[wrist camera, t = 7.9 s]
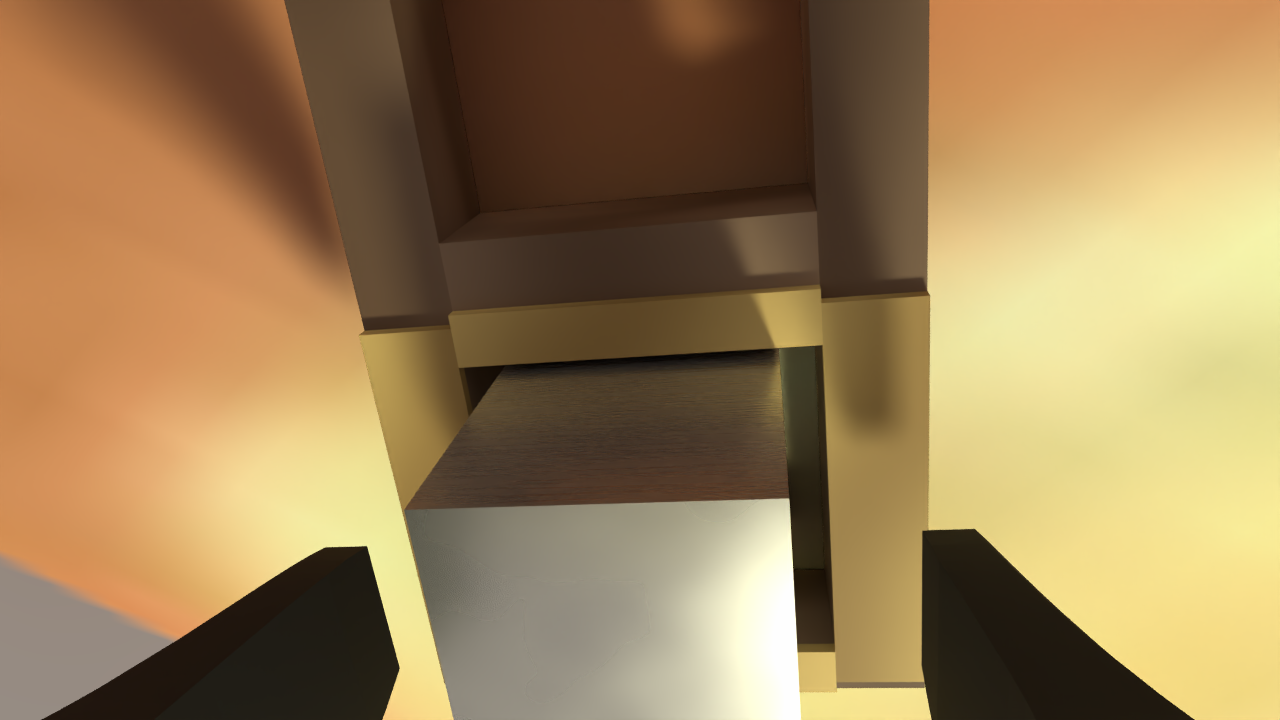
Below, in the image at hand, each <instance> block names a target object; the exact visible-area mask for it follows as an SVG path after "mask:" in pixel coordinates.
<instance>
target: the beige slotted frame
mask: <svg viewBox="0 0 1280 720" xmlns="http://www.w3.org/2000/svg"><path fill="white" fill-rule="evenodd" d="M284 1H285V5H286V9H287V13H288V17H289V21H290V26H291V30H292V34H293V38H294V42H295V46H296V50H297V54H298V59H299V63H300V67H301V71H302V75H303V79H304V83H305V87H306V91H307V96H308V100H309V104H310V108H311V112H312V116H313V120H314V124H315V128H316V133H317V137H318V141H319V145H320V149H321V153H322V157H323V161H324V165H325V170H326V174H327V178H328V182H329V186H330V190H331V194H332V198H333V203H334V207H335V211H336V215H337V219H338V223H339V227H340V231H341V235H342V240H343V244H344V248H345V252H346V256H347V260H348V264H349V268H350V272H351V277H352V281H353V285H354V289H355V293H356V297H357V301H358V305H359V309H360V314H361V318H362V322H363V326H364V330H365V331H364V332H363V333H361V334H360V335H359V338H360V342H361V346H362V350H363V354H364V358H365V362H366V366H367V370H368V374H369V378H370V382H371V386H372V390H373V394H374V398H375V403H376V407H377V411H378V415H379V419H380V423H381V427H382V431H383V435H384V439H385V443H386V447H387V451H388V455H389V459H390V464H391V468H392V472H393V476H394V480H395V484H396V488H397V492H398V496H399V500H400V504H401V508H402V512H403V516H404V520H405V524H406V529H407V533H408V537H409V541H410V545H411V549H412V553H413V557H414V561H415V565H416V569H417V573H418V577H419V581H420V585H421V589H422V594H423V598H424V602H425V606H426V610H427V614H428V618H429V622H430V626H431V621H430V617H429V613H428V609H427V605H426V600H425V596H424V592H423V588H422V584H421V579H420V575H419V571H418V567H417V563H416V558H415V554H414V550H413V546H412V542H411V537H410V533H409V529H408V525H407V521H406V516H405V512H404V509H405V508H406V506H407V505H408V503H409V502H410V501H411V499H412V498H413V496H414V495H415V493H416V492H417V491H418V489H419V488H420V486H421V485H422V483H423V482H424V481H425V479H426V478H427V476H428V475H429V473H430V472H431V471H432V469H433V468H434V466H435V465H436V464H437V462H438V461H439V459H440V458H441V456H442V455H443V454H444V452H445V451H446V449H447V448H448V446H449V445H450V444H451V442H452V441H453V439H454V438H455V436H456V435H457V434H458V432H459V431H460V429H461V428H462V426H463V425H464V424H465V422H466V421H467V419H468V418H469V417H470V415H471V414H472V412H473V411H474V409H475V408H476V407H477V405H478V404H479V402H480V401H481V399H482V398H483V397H484V395H485V394H486V392H487V391H488V389H489V388H490V387H491V385H492V384H493V382H494V381H495V380H496V378H497V377H498V375H499V374H500V372H501V371H502V370H503V368H504V367H505V365H512V364H528V363H544V362H560V361H576V360H592V359H608V358H625V357H641V356H657V355H673V354H689V353H705V352H721V351H737V350H753V349H769V348H785V347H801V346H815V360H816V384H817V407H818V430H819V453H820V476H821V499H822V522H823V545H824V569H811V570H793V580H794V599H795V618H796V638H797V657H798V676H799V692H837V688H925V682H924V677H923V671H922V666H921V661H922V531H925V530H928V488H929V365H930V295H929V293H928V292H927V252H928V106H929V0H800V14H801V37H802V60H803V83H804V106H805V129H806V152H807V175H808V183H804V184H793V185H782V186H771V187H760V188H749V189H738V190H727V191H716V192H705V193H694V194H683V195H672V196H661V197H650V198H639V199H628V200H617V201H606V202H595V203H584V204H573V205H562V206H551V207H540V208H529V209H518V210H507V211H496V212H485V213H480V209H479V203H478V198H477V192H476V187H475V181H474V176H473V170H472V165H471V159H470V154H469V148H468V143H467V137H466V132H465V126H464V121H463V115H462V110H461V104H460V99H459V93H458V88H457V82H456V77H455V71H454V66H453V60H452V55H451V49H450V44H449V38H448V33H447V27H446V22H445V16H444V11H443V5H442V0H284ZM431 630H432V626H431ZM432 634H433V630H432ZM433 638H434V634H433ZM434 642H435V638H434ZM435 646H436V642H435ZM436 650H437V647H436ZM437 655H438V651H437ZM438 659H439V655H438ZM439 663H440V659H439ZM440 667H441V663H440ZM441 671H442V668H441ZM442 675H443V672H442ZM443 679H444V676H443ZM444 683H445V680H444Z"/></svg>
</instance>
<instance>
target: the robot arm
mask: <svg viewBox="0 0 1280 720" xmlns="http://www.w3.org/2000/svg"><path fill="white" fill-rule="evenodd" d="M921 666H922V671H923V677H924V682H925V687H926V693H927V698H928V703H929V709H930V714H931V719H932V720H1194V719H1193V718H1191V717H1190V716H1189V715H1187V714H1186V713H1185V712H1183V711H1182V710H1180V709H1179V708H1178V707H1176V706H1175V705H1174V704H1172V703H1171V702H1170V701H1168V700H1167V699H1165V698H1164V697H1163V696H1162V695H1160V694H1159V693H1158V692H1156V691H1155V690H1154V689H1153V688H1151V687H1150V686H1149V685H1147V684H1146V683H1145V682H1144V681H1142V680H1141V679H1140V678H1139V677H1137V676H1136V675H1135V674H1134V673H1132V672H1131V671H1130V670H1129V669H1127V668H1126V667H1125V666H1123V665H1122V664H1121V663H1120V662H1118V661H1117V660H1116V659H1115V658H1113V657H1112V656H1111V655H1110V654H1109V653H1107V652H1106V651H1105V650H1104V649H1103V648H1102V647H1100V646H1099V645H1098V644H1097V643H1096V642H1095V641H1094V640H1092V639H1091V638H1090V637H1089V636H1088V635H1087V634H1086V633H1085V632H1083V631H1082V630H1081V629H1080V628H1079V627H1078V626H1077V625H1076V624H1074V623H1073V622H1072V621H1071V620H1070V619H1069V618H1068V617H1067V616H1065V615H1064V614H1063V613H1062V612H1061V611H1060V610H1059V609H1058V608H1057V607H1056V606H1054V605H1053V604H1052V603H1051V602H1050V601H1049V600H1048V599H1047V598H1046V597H1045V596H1044V595H1043V594H1042V593H1041V592H1039V591H1038V590H1037V589H1036V588H1035V587H1034V586H1033V585H1032V584H1031V583H1030V582H1029V581H1028V580H1027V579H1026V578H1025V577H1024V576H1023V575H1022V574H1021V573H1020V572H1019V571H1018V570H1017V569H1016V568H1015V567H1014V566H1013V565H1012V564H1011V563H1010V562H1009V561H1008V560H1006V559H1005V558H1004V557H1003V556H1002V555H1001V554H1000V553H999V552H998V551H997V550H996V549H995V548H994V547H993V546H992V545H991V544H990V543H989V542H988V541H987V540H986V539H985V538H984V537H983V536H982V535H981V534H980V533H979V532H977V531H976V530H975V529H960V530H925V531H922V661H921ZM399 669H400V668H399V664H398V660H397V657H396V653H395V649H394V645H393V642H392V638H391V634H390V630H389V627H388V623H387V619H386V616H385V612H384V608H383V604H382V601H381V597H380V593H379V589H378V586H377V582H376V578H375V575H374V571H373V567H372V563H371V560H370V556H369V552H368V548H367V546H362V547H327V548H323V549H321V550H319V551H318V552H316V553H314V554H312V555H310V556H308V557H306V558H305V559H303V560H301V561H300V562H298V563H296V564H295V565H293V566H291V567H290V568H288V569H287V570H285V571H283V572H282V573H280V574H279V575H277V576H275V577H274V578H272V579H271V580H269V581H268V582H266V583H265V584H263V585H261V586H260V587H258V588H257V589H255V590H254V591H252V592H251V593H249V594H248V595H246V596H245V597H243V598H242V599H240V600H238V601H237V602H235V603H234V604H232V605H231V606H229V607H228V608H226V609H225V610H223V611H222V612H220V613H219V614H217V615H215V616H214V617H212V618H211V619H209V620H208V621H206V622H205V623H203V624H202V625H200V626H199V627H197V628H196V629H194V630H192V631H191V632H189V633H188V634H186V635H185V636H183V637H182V638H180V639H178V640H177V641H175V642H174V643H172V644H170V645H169V646H167V647H165V648H164V649H162V650H161V651H159V652H157V653H155V654H154V655H152V656H151V657H149V658H147V659H146V660H144V661H143V662H141V663H139V664H137V665H136V666H134V667H133V668H131V669H129V670H128V671H126V672H124V673H123V674H121V675H120V676H118V677H116V678H115V679H113V680H111V681H110V682H108V683H106V684H105V685H103V686H101V687H100V688H98V689H96V690H94V691H93V692H91V693H89V694H87V695H86V696H84V697H82V698H80V699H79V700H77V701H75V702H73V703H71V704H70V705H68V706H66V707H64V708H63V709H61V710H59V711H57V712H55V713H53V714H51V715H49V716H48V717H46V718H44V719H42V720H382V719H383V716H384V713H385V711H386V708H387V705H388V702H389V699H390V696H391V693H392V690H393V687H394V684H395V681H396V678H397V675H398V672H399Z"/></svg>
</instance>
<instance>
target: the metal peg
mask: <svg viewBox="0 0 1280 720" xmlns="http://www.w3.org/2000/svg"><path fill="white" fill-rule="evenodd" d="M404 512H405V516H406V521H407V525H408V529H409V533H410V537H411V542H412V546H413V550H414V554H415V558H416V563H417V567H418V571H419V575H420V579H421V584H422V588H423V592H424V596H425V600H426V605H427V609H428V613H429V617H430V621H431V626H432V630H433V634H434V638H435V642H436V647H437V651H438V655H439V659H440V663H441V668H442V672H443V676H444V680H445V684H446V689H447V693H448V697H449V701H450V705H451V710H452V714H453V718H454V720H801V715H800V696H799V676H798V657H797V638H796V618H795V599H794V580H793V560H792V541H791V522H790V502H789V487H788V473H787V459H786V445H785V431H784V416H783V402H782V388H781V374H780V360H779V348H769V349H753V350H737V351H721V352H705V353H689V354H673V355H657V356H641V357H625V358H608V359H592V360H576V361H560V362H544V363H528V364H512V365H505V367H504V368H503V370H502V371H501V372H500V374H499V375H498V377H497V378H496V380H495V381H494V382H493V384H492V385H491V387H490V388H489V389H488V391H487V392H486V394H485V395H484V397H483V398H482V399H481V401H480V402H479V404H478V405H477V407H476V408H475V409H474V411H473V412H472V414H471V415H470V417H469V418H468V419H467V421H466V422H465V424H464V425H463V426H462V428H461V429H460V431H459V432H458V434H457V435H456V436H455V438H454V439H453V441H452V442H451V444H450V445H449V446H448V448H447V449H446V451H445V452H444V454H443V455H442V456H441V458H440V459H439V461H438V462H437V464H436V465H435V466H434V468H433V469H432V471H431V472H430V473H429V475H428V476H427V478H426V479H425V481H424V482H423V483H422V485H421V486H420V488H419V489H418V491H417V492H416V493H415V495H414V496H413V498H412V499H411V501H410V502H409V503H408V505H407V506H406V508H405V509H404Z"/></svg>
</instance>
